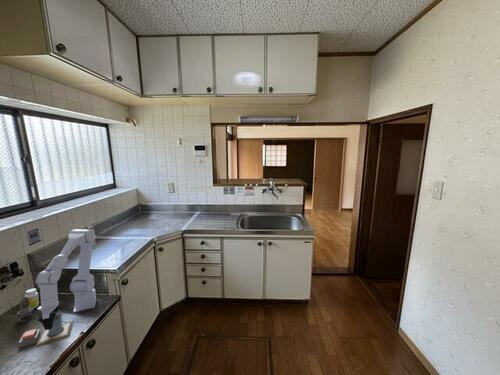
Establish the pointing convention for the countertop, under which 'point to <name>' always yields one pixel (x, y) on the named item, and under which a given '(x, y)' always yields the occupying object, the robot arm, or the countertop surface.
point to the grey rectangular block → (56, 324)
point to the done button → (29, 334)
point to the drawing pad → (64, 333)
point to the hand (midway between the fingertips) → (50, 323)
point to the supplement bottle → (32, 297)
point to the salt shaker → (25, 310)
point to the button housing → (29, 340)
